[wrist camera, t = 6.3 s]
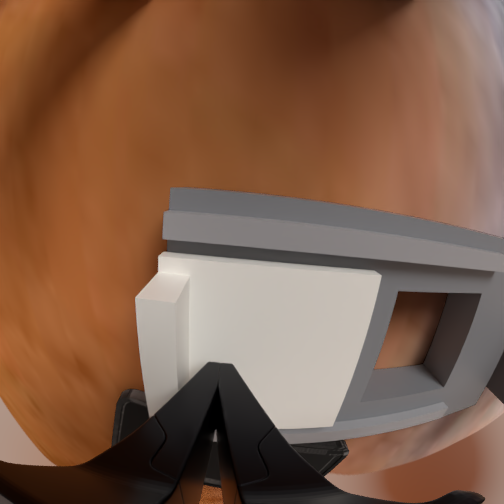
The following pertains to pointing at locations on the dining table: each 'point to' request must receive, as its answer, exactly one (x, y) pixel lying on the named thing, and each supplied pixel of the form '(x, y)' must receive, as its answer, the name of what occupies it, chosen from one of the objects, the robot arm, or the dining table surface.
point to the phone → (136, 414)
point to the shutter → (256, 331)
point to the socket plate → (393, 280)
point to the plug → (498, 380)
